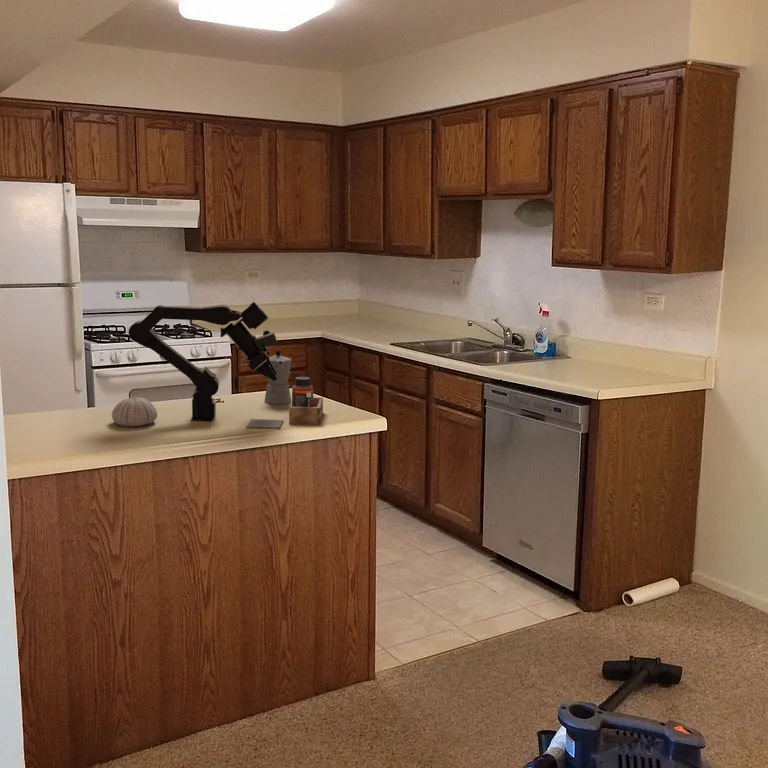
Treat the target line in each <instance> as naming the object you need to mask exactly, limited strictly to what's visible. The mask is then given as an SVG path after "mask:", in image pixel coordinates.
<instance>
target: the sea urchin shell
mask: <svg viewBox="0 0 768 768" xmlns="http://www.w3.org/2000/svg"><path fill="white" fill-rule="evenodd" d="M157 418H158V411H157V409H156V407H155V406H154V404H153V403H152V402H150V401H149V400H148V399H146V398H143V397H138V396H132V397H126V398H124V399H122V400H121V401H119V402H118V403H117V404H116V405H115V407H113V410H112V412H111V419H112V421H113V422H115V424H117V425H118V426H121V427H128V428H129V427H141V426H146V425H149V424H152V423H154V422H155V421H156V420H157Z"/></svg>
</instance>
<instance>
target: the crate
mask: <svg viewBox="0 0 768 768" xmlns="http://www.w3.org/2000/svg"><path fill="white" fill-rule="evenodd" d="M322 413H323V414H324V397H321V396H319V397H318V396H313V407H292V406H289V407H288V424H304V423H315V424H316V425H317V424H318V425H320V424H321V422H322V418H321V417H323V414H322ZM315 424H314V425H315Z"/></svg>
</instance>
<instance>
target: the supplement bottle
mask: <svg viewBox="0 0 768 768" xmlns="http://www.w3.org/2000/svg"><path fill="white" fill-rule="evenodd" d="M294 382H295V384H294V385H292V387H291V388H292V389H291V407H313V397H314V386H313V385H312V384H311V378H310V377H308V376H297V377H295V381H294Z"/></svg>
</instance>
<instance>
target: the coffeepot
mask: <svg viewBox="0 0 768 768" xmlns="http://www.w3.org/2000/svg"><path fill="white" fill-rule="evenodd" d="M269 360H270V362H271V364H272V366H273V367H274V369H275V371H276V373H277V374H276V375H275V376H276V377H277V380H276V381H273V380H272V379H270V378H268V377H266V379H267V384H266V389H265V397H264V403H265V404H267V403H268V405H272V404H283V405H289V404H290V403H292V394H291V391H290V385H289V378H290V373H291V367H292V361H293V359H292V358H290V357H286V356H283V355H281V350H278V349H277V350H275V353H274V354H273V355H272V356H269ZM288 403H289V404H288Z"/></svg>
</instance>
